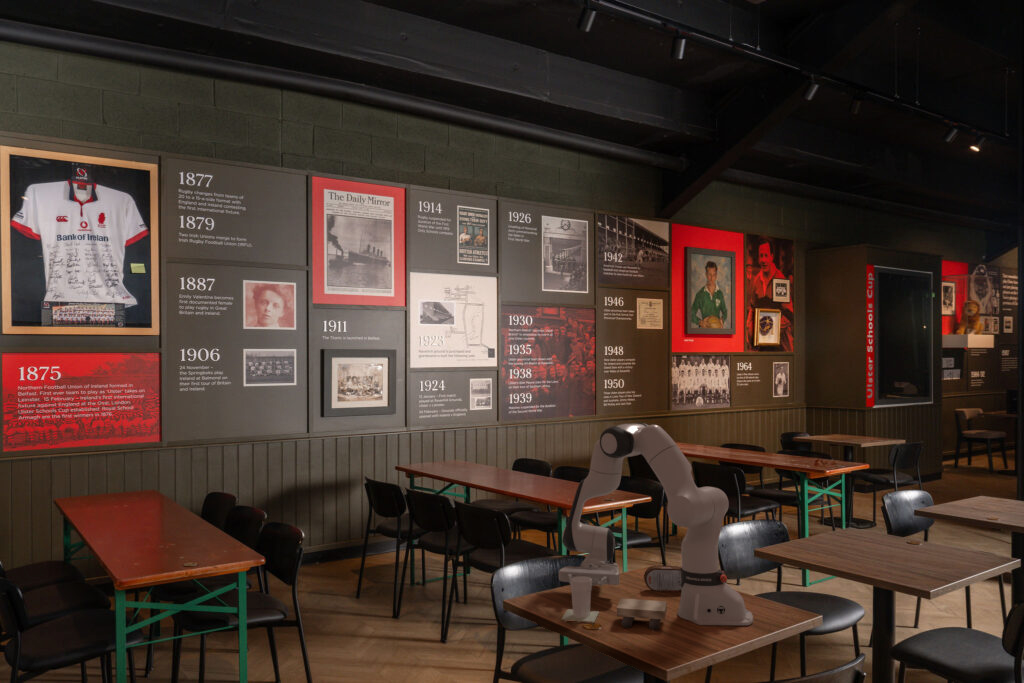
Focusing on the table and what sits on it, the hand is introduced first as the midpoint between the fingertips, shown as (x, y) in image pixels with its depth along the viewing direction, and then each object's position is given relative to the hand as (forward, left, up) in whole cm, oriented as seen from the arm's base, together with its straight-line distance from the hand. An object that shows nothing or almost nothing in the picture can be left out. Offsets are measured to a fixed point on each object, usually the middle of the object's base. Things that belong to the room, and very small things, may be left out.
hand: (585, 582), depth 242 cm
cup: (0, +11, -7) cm, 13 cm away
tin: (-24, -24, -8) cm, 35 cm away
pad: (0, +11, -8) cm, 13 cm away
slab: (-19, +12, -8) cm, 24 cm away
